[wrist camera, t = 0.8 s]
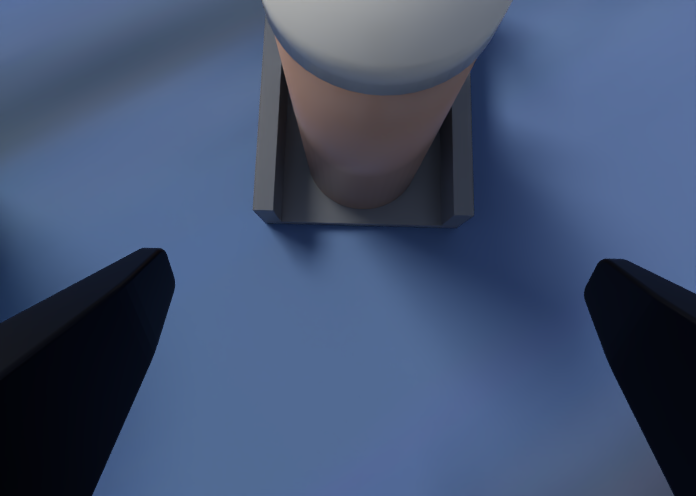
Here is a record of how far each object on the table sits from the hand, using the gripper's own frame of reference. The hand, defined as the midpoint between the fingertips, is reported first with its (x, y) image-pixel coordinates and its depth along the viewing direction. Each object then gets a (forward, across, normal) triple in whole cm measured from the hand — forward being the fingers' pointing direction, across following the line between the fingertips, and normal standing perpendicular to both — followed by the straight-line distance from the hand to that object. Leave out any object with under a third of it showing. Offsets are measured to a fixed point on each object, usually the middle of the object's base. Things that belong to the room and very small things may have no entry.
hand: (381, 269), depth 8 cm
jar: (+15, 0, +3) cm, 15 cm away
